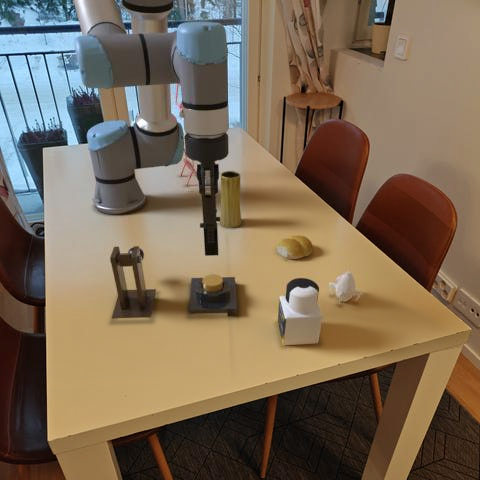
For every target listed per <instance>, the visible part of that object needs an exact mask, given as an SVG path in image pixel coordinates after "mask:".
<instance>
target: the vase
mask: <svg viewBox="0 0 480 480" xmlns="http://www.w3.org/2000/svg"><path fill="white" fill-rule="evenodd" d="M219 222H220V225H222V227H225V228H230V229H232V228H238V227H239V226H241V225H242V210H241V173H240V172H238V171H236V170H226V171H223V172H220V221H219Z"/></svg>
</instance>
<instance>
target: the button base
mask: <svg viewBox="0 0 480 480" xmlns="http://www.w3.org/2000/svg"><path fill="white" fill-rule="evenodd" d="M221 277H222V279H223V288H222V289H221V290H219V291H217V292H208V291H205V290H204V289H203V283H202V280H203V278H204V277H191V279H190V291H189V293H190V294H189V307H188V308H189V309H188V312H189V314H218V313H219V314H221V313H222V314H224V313H227V317H238V304H237V303H238V302H237V288H236V277H235V276H227V277H226V276H221Z"/></svg>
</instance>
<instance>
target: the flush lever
mask: <svg viewBox="0 0 480 480" xmlns="http://www.w3.org/2000/svg"><path fill="white" fill-rule="evenodd" d="M133 248H134V246H133V247H131V248H130V249H129V250H128V251H127V252H120V254H119V265H120V267H123V268H124V267H127V268H128V267H132V261H131V255H132V252H133ZM139 249H140V255H141V257H142V261H144V258H145V253H144V251H143V249H142V248H140V247H139Z"/></svg>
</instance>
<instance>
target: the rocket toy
mask: <svg viewBox="0 0 480 480" xmlns="http://www.w3.org/2000/svg"><path fill="white" fill-rule="evenodd" d="M328 285H329V289H330V294H331V295H332V296H333V295H334V293H333V292H334V291H333V290H334V288H335V295H336V298H337V299H338V305H341V302H343V303H345V302H348V301H350V300H351V299H352V298H353V296H354V295H356V298H355V300H354V303H356V302H357V301H358V300H359V299H360V298H361V296H363V291H360V290H357V289H356V280H355V277H354V276H353V273H352V271H351V270H346V271H345V273H344V274H340V275H338V276H337V277H336V283H335V282H331V281H330V282H329V283H328Z"/></svg>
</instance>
